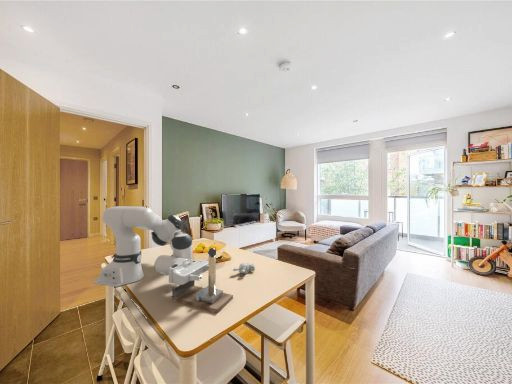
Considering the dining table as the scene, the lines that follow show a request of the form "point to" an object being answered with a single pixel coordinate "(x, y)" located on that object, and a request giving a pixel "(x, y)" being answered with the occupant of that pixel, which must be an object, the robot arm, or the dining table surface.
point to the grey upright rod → (210, 282)
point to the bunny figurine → (245, 268)
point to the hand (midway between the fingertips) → (207, 273)
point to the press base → (188, 296)
